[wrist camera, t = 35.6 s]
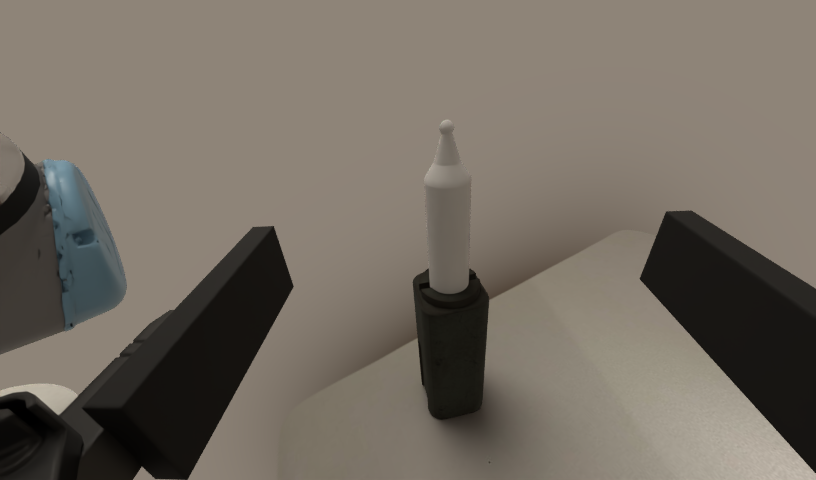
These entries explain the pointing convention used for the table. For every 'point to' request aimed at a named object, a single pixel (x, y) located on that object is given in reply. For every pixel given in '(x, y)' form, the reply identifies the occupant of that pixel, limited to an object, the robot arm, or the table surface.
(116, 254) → the robot arm
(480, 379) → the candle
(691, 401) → the table surface
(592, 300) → the table surface
